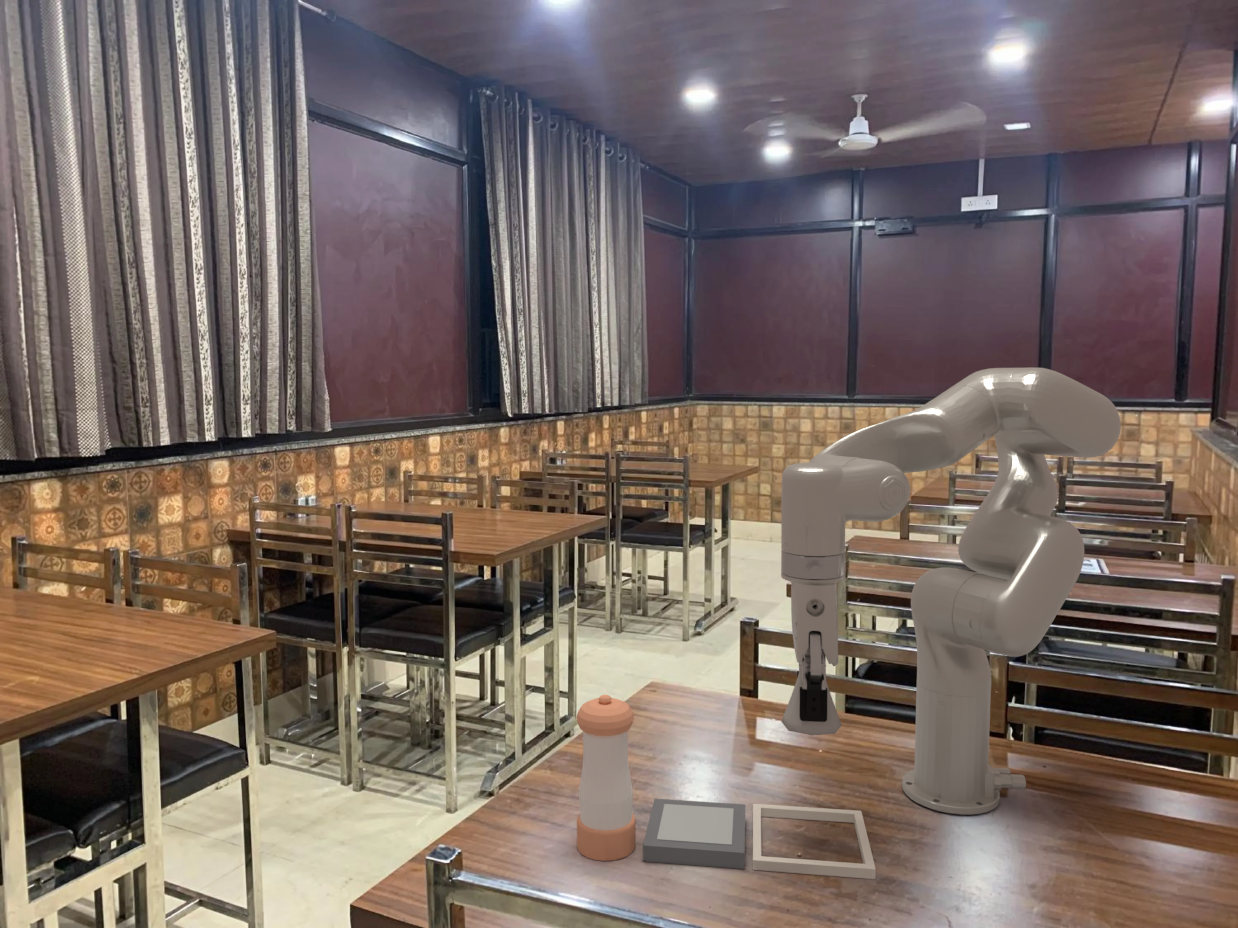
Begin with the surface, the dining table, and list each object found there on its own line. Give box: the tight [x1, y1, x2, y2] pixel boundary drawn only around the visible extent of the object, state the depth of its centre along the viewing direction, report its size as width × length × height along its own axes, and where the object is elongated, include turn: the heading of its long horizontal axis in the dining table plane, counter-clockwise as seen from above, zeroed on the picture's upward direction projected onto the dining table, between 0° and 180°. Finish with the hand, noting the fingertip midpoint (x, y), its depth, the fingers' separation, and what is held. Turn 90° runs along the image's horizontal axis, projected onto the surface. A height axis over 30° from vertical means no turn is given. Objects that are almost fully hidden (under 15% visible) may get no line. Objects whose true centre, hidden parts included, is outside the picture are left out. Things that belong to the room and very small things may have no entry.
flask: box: [781, 657, 842, 736], centre depth 108 cm, size 7×7×10 cm
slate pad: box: [642, 798, 746, 870], centre depth 111 cm, size 12×12×2 cm
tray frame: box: [752, 803, 877, 880], centre depth 109 cm, size 14×14×1 cm
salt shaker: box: [576, 694, 637, 862], centre depth 108 cm, size 7×7×19 cm
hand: (811, 709), depth 108 cm, fingers closed on flask, 4 cm apart
